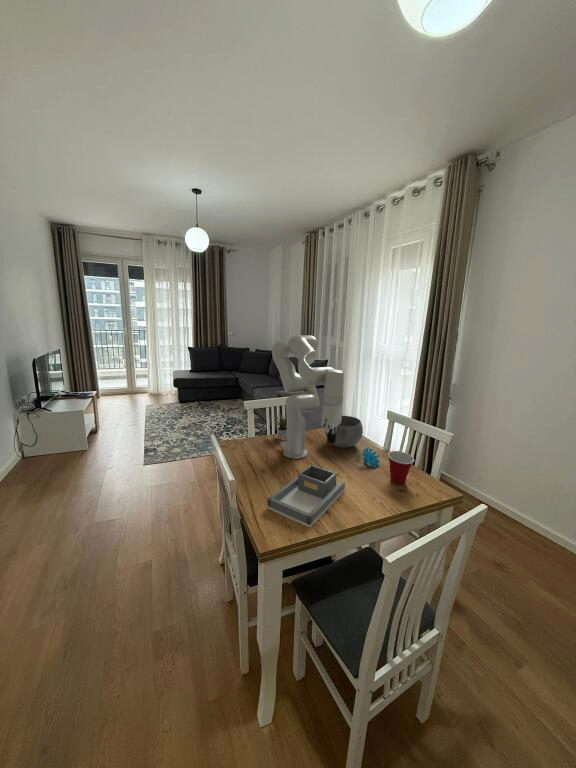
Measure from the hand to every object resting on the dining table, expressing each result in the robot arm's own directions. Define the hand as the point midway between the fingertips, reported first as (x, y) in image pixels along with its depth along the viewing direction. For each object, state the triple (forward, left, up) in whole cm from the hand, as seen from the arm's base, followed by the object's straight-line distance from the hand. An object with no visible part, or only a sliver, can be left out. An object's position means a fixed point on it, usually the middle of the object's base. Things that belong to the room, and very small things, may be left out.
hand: (331, 442), depth 129 cm
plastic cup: (+25, +18, -18) cm, 35 cm away
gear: (+9, +26, -18) cm, 33 cm away
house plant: (-44, +26, -18) cm, 54 cm away
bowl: (-11, +39, -18) cm, 44 cm away
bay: (0, -17, -18) cm, 25 cm away
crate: (0, -11, -17) cm, 20 cm away
